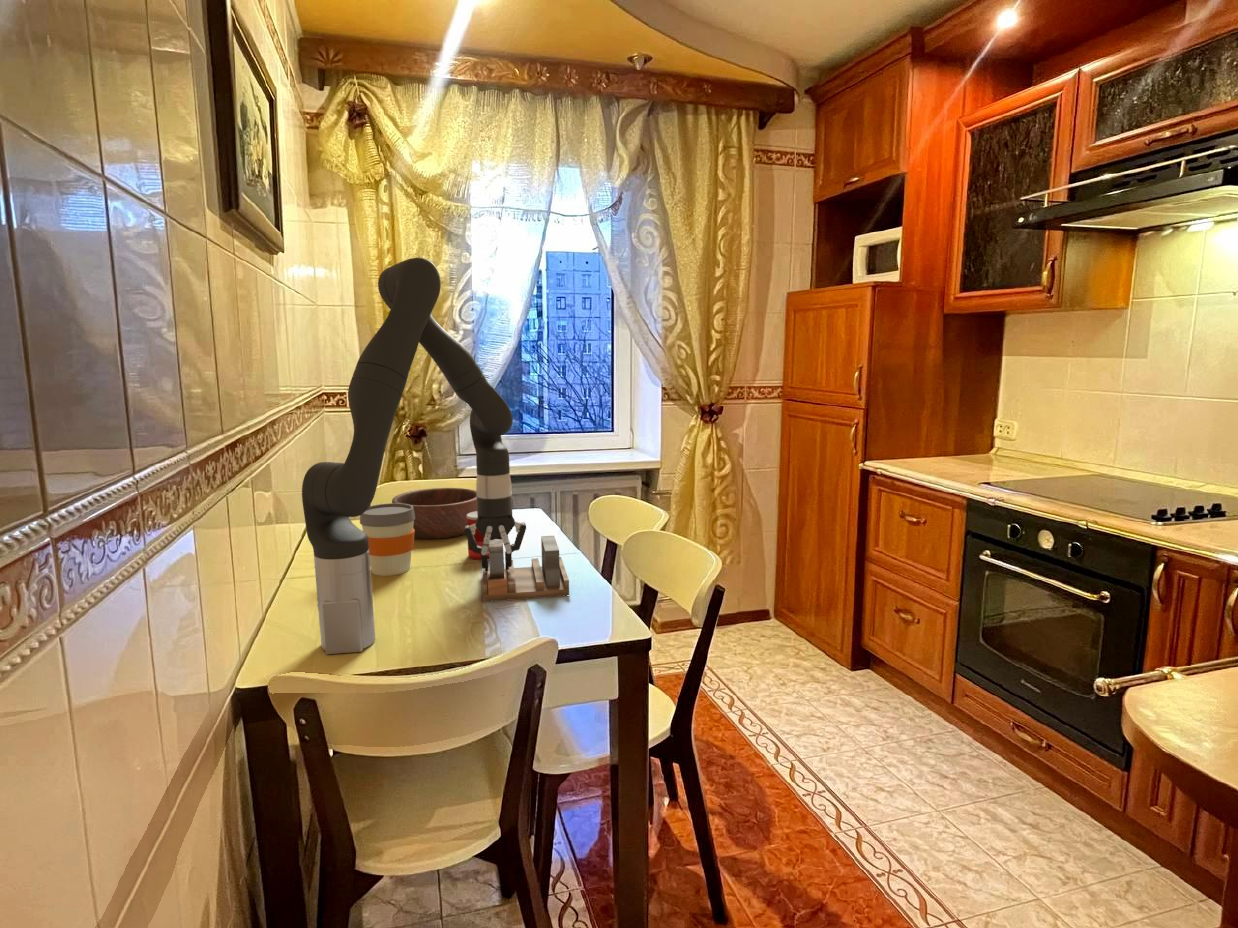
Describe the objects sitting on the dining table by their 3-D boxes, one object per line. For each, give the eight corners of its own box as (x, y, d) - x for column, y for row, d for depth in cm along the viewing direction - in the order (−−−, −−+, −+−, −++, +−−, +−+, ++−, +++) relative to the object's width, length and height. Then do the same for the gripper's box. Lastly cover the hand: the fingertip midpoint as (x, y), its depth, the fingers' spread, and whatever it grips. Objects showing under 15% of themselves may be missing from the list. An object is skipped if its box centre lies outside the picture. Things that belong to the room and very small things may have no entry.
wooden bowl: (410, 520, 221) (408, 487, 219) (491, 520, 220) (489, 487, 218) (380, 542, 197) (378, 506, 195) (471, 542, 196) (469, 506, 194)
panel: (504, 588, 154) (503, 552, 153) (490, 589, 153) (489, 553, 152) (503, 571, 166) (502, 537, 164) (490, 571, 165) (489, 538, 164)
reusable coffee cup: (402, 579, 166) (398, 516, 163) (352, 576, 168) (348, 514, 165) (427, 563, 178) (423, 504, 175) (380, 560, 180) (376, 502, 178)
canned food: (505, 553, 185) (504, 512, 183) (485, 562, 178) (483, 519, 176) (483, 549, 189) (481, 508, 187) (462, 557, 182) (460, 515, 180)
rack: (569, 595, 154) (568, 553, 152) (482, 601, 151) (481, 558, 149) (561, 571, 171) (560, 532, 169) (483, 576, 167) (481, 536, 166)
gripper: (460, 498, 151) (463, 577, 154) (527, 495, 154) (530, 572, 157) (461, 491, 158) (464, 566, 161) (526, 488, 161) (528, 562, 164)
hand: (497, 569), depth 159 cm, fingers open, 4 cm apart
